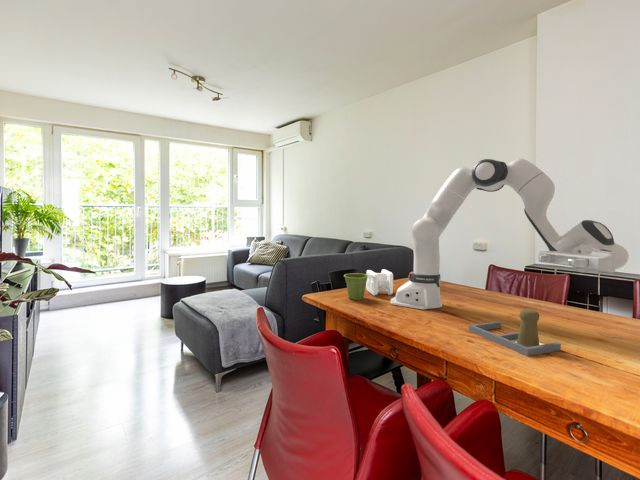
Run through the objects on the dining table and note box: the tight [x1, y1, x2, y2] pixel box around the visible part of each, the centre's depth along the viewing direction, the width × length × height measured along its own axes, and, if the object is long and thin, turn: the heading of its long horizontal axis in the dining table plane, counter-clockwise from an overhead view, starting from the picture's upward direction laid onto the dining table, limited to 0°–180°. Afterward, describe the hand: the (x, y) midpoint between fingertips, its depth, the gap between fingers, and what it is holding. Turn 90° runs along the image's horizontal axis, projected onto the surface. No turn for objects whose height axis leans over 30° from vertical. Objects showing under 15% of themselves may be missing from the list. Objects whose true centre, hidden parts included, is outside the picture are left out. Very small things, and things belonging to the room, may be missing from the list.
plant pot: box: [343, 272, 368, 301], centre depth 164 cm, size 12×12×11 cm
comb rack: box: [468, 320, 562, 357], centre depth 110 cm, size 13×23×2 cm, turn 19°
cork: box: [517, 308, 540, 347], centre depth 104 cm, size 6×6×11 cm
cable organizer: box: [365, 268, 394, 297], centre depth 174 cm, size 15×11×12 cm
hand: (555, 260), depth 106 cm, fingers open, 8 cm apart
